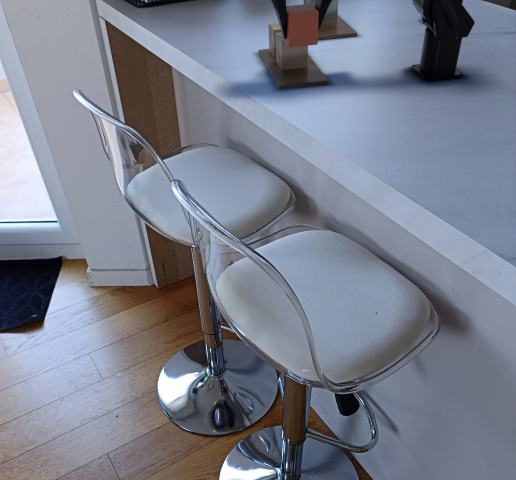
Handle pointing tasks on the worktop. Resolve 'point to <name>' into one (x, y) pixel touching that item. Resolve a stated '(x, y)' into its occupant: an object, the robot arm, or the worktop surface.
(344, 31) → the dark wooden base plate
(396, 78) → the worktop surface
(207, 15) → the worktop surface
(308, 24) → the letter block
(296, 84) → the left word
